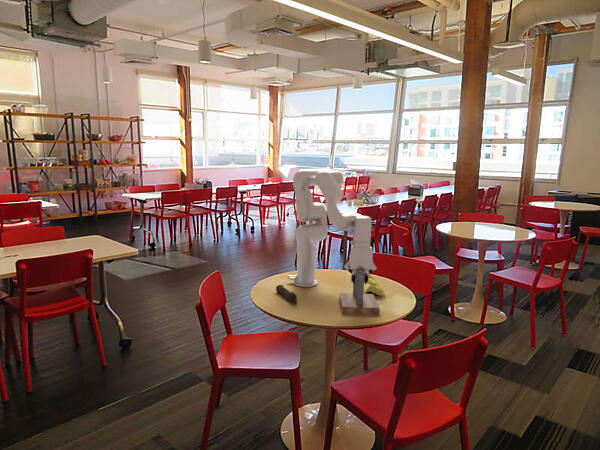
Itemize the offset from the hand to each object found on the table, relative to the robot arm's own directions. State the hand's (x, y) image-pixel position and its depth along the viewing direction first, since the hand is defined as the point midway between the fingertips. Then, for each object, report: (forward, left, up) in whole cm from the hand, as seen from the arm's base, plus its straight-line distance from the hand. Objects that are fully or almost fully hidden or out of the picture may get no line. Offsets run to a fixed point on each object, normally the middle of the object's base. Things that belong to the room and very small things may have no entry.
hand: (359, 282), depth 186 cm
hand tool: (-32, +8, -12) cm, 35 cm away
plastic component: (+8, +23, -12) cm, 27 cm away
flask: (0, 0, -8) cm, 8 cm away
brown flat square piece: (0, 0, -11) cm, 11 cm away
